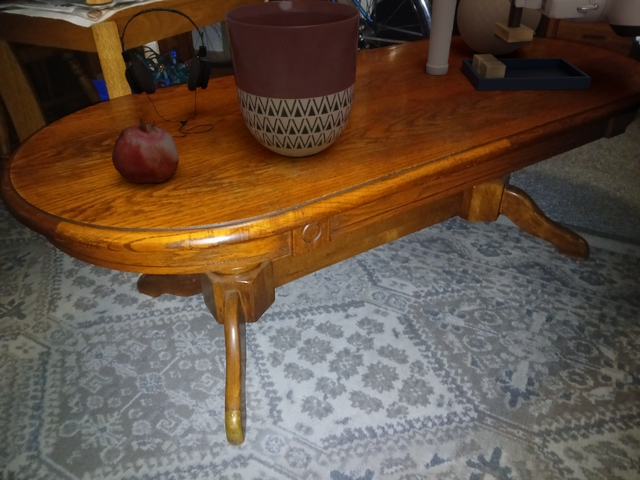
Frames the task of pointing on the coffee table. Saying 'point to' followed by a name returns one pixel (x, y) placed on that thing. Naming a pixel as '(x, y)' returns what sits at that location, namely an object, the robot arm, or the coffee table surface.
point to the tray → (530, 75)
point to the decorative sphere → (489, 24)
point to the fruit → (145, 154)
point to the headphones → (143, 80)
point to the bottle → (440, 36)
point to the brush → (513, 28)
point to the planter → (294, 71)
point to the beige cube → (492, 69)
